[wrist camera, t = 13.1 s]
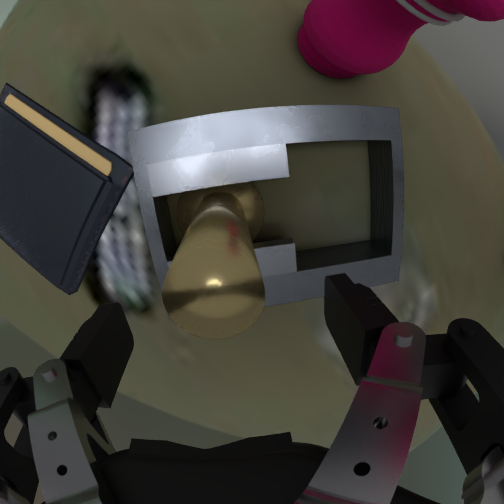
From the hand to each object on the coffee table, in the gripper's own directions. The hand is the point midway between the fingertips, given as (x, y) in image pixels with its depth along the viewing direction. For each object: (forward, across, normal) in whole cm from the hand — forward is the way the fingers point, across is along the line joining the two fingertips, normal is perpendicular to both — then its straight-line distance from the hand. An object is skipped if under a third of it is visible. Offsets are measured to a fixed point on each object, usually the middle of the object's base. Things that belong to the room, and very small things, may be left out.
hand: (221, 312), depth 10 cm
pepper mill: (+13, -11, -14) cm, 22 cm away
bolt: (+13, 0, -1) cm, 13 cm away
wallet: (+13, +18, -7) cm, 24 cm away
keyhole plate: (+13, -4, -1) cm, 13 cm away
